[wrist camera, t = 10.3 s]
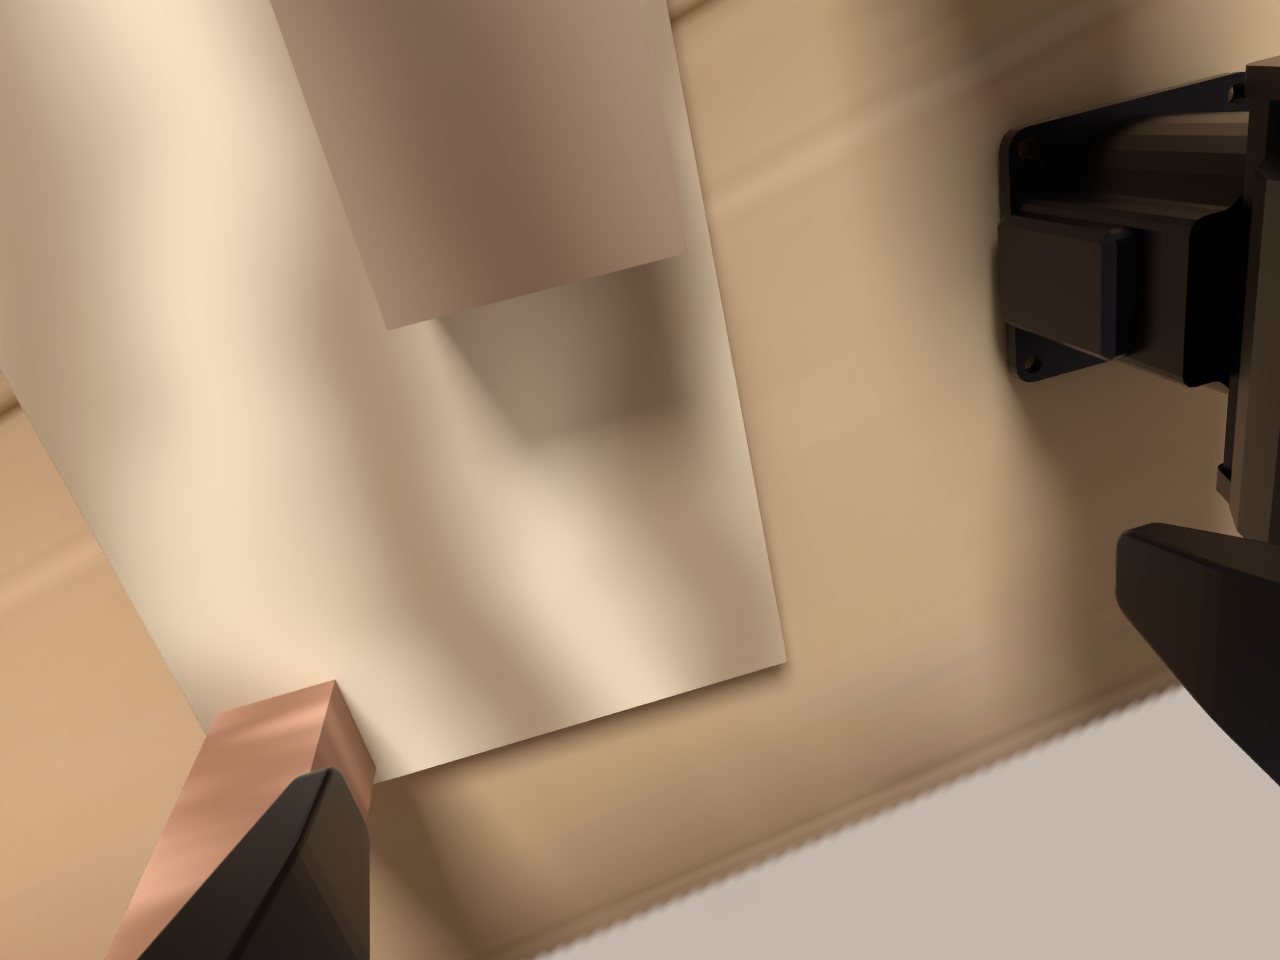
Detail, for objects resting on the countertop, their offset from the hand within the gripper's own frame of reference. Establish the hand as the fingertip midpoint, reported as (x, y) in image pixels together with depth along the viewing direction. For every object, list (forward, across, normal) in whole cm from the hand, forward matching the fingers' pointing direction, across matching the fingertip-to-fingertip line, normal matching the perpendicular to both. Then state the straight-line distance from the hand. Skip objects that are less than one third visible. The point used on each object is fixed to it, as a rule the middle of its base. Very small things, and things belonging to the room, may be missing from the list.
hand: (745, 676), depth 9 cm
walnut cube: (+11, +1, -6) cm, 13 cm away
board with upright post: (+13, +4, 0) cm, 14 cm away
